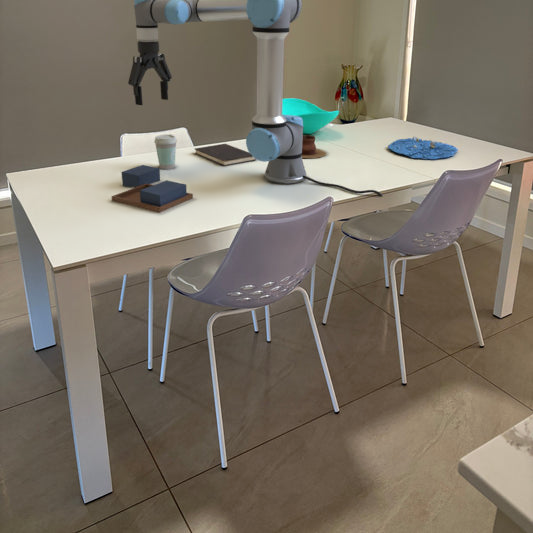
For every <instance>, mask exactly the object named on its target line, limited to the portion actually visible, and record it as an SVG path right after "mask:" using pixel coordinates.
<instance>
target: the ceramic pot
mask: <svg viewBox="0 0 533 533" xmlns="http://www.w3.org/2000/svg"><path fill="white" fill-rule="evenodd" d="M316 139H317V138H316V136H315V135H311V134H304V135H303V141H302V159H317V158H322V157H325V156H326V155H327V152H326V151H324V150H322V149H321V148H320V149H319V148H317V146H316V143H315V142H316Z"/></svg>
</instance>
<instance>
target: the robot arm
mask: <svg viewBox="0 0 533 533" xmlns="http://www.w3.org/2000/svg"><path fill="white" fill-rule="evenodd" d="M133 1H134V2H133V7H134V8H133V9H134V16H135V17H134V18H135V31H136V39H137V43H136V44H137V52H138V53H139V56H135V55H134V56H133V57H132V65H131V70H130V74H129V78H128V82H127V84H128V85H129V86H132V90H133V96H134V102H135V105H136V106H143V94H142V93H143V92H142V86H141V83H142V81H143V78H144V76H145V74H146V72H147V71H148V70H151V69H153V70H154V71H155V72H156V74H157V76H158V77H159V79H160V81H159V84H160V86H159V87H160V99H161V100H164V101H168V100H169V94H168V90H169V82H171V79H173V76H172V73H171V72H170V69H169V67H168V64H167V61H166V56H165V54H164V53H160V42H159V41H158V40H159V24H168V25H183V24H185V23H199V22H201V23H202V22H219V21H220V22H221V21H240V20H241V21H242V20H249V22H250V23H251V24H252V34H253V35H254V36H255V37H256V40H257V41H256V114H255V115H254V116H253V117H252V119H251V130H250V131H249V132H248V134H247V135H246V138H245V146H246V149H247V152H249V153H250V154H251V155H252V156H253V157H254V158H255V159H256V161H259V162H267V165H266V167H265V168H266V169H265V172H264V179H265V180H266V181H268V182H269V183H273V184H280V185H292V184H293V185H294V184H299V183H303V182H304V181H306V180H308V181H310V182H312V183H314V184H317V185H321V186H325V187H326V186H327V187H332V188H338V189H342V190H344V191H347V192H350V193H352V194H353V193H354V194H368V193H369V194H370V193H372V194H376V195H377V196H379V197H380V198H383V197H384V196H383V194H382V193H381V192H379V191H377V190H375V189H366V190H355V189H351V188H348V187H346V186H343V185H340V184H335V183H328V182H322V181H318V180H315V179H313V178H311V177H309V176H307V171H306V167H305V164H304V161H303V158H302V141H303V136H304V134H303V119H302V118H301V117H299V116H292V115H282V101H283V99H284V93H283V92H284V64H285V59H284V58H285V39H286V37H287V36H288V35H289V34H290V25H291V24H292V23H293V22H295V21H296V20H297V19H298V17H299V16H300V14H301V11H302V6H303V4H302V3H303V1H302V0H133Z"/></svg>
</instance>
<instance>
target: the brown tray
mask: <svg viewBox="0 0 533 533" xmlns="http://www.w3.org/2000/svg"><path fill="white" fill-rule="evenodd" d="M153 185H154V184H143V185H141V186H138V187H132V188H130V189H127V190H124V191H122V192H119V193H116V194H114V195H111V201H112V202H115V203H119V204H123V205H127V206H132V207H135V208H139V209H143V210H147V211H151V212H155V213H162V212H165V211H167V210H169V209H171V208H174V207H177V206H178V205H181V204H183V203H185V202H188V201H190V200H192V199H194V193H190V192H187V195H186V196H184V197H181V198H179V199H177V200H174V201H172V202H170V203H167V204H165V205H163V206H160V207H158V206H153V205H149V204H145V203H141V200H140V190H142V189H145V188H148V187H150V186H153Z"/></svg>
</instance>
